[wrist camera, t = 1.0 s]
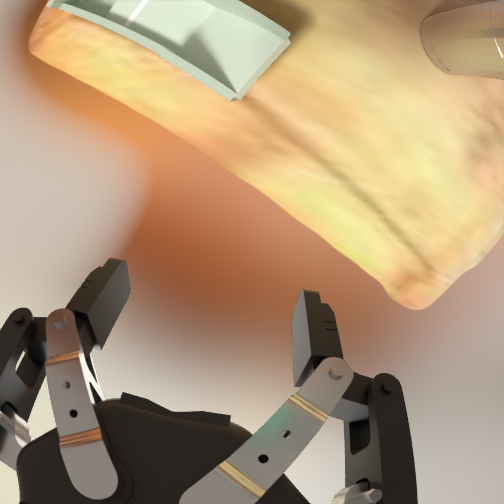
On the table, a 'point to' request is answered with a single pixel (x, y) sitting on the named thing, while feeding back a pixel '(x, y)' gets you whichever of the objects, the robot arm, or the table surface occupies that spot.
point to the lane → (195, 36)
